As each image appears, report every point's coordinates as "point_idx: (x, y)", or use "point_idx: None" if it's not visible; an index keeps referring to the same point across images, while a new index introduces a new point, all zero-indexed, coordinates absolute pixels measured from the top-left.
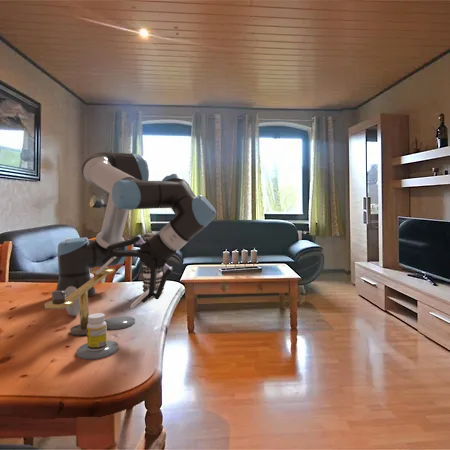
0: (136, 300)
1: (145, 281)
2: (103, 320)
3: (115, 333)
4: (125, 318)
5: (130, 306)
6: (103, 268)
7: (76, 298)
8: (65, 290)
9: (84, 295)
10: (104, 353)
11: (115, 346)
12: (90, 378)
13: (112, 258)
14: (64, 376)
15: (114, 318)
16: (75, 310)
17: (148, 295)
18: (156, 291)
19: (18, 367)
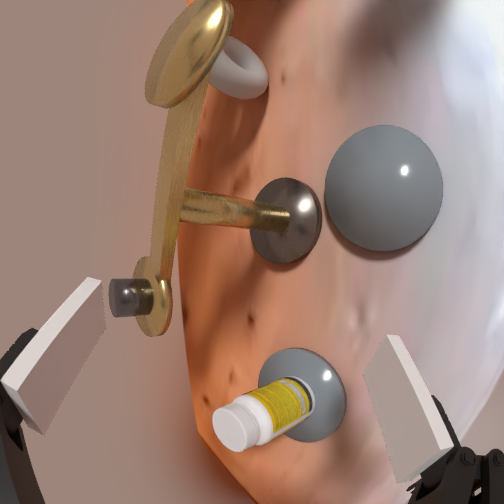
0: (384, 396)
1: None
2: (254, 443)
3: (363, 291)
4: (405, 160)
5: (364, 377)
6: (81, 365)
7: (171, 262)
8: None
9: (188, 220)
10: (302, 438)
11: (332, 421)
12: (274, 483)
13: (32, 426)
14: None
15: (366, 147)
16: (250, 98)
17: (408, 489)
18: (474, 480)
19: (197, 364)
